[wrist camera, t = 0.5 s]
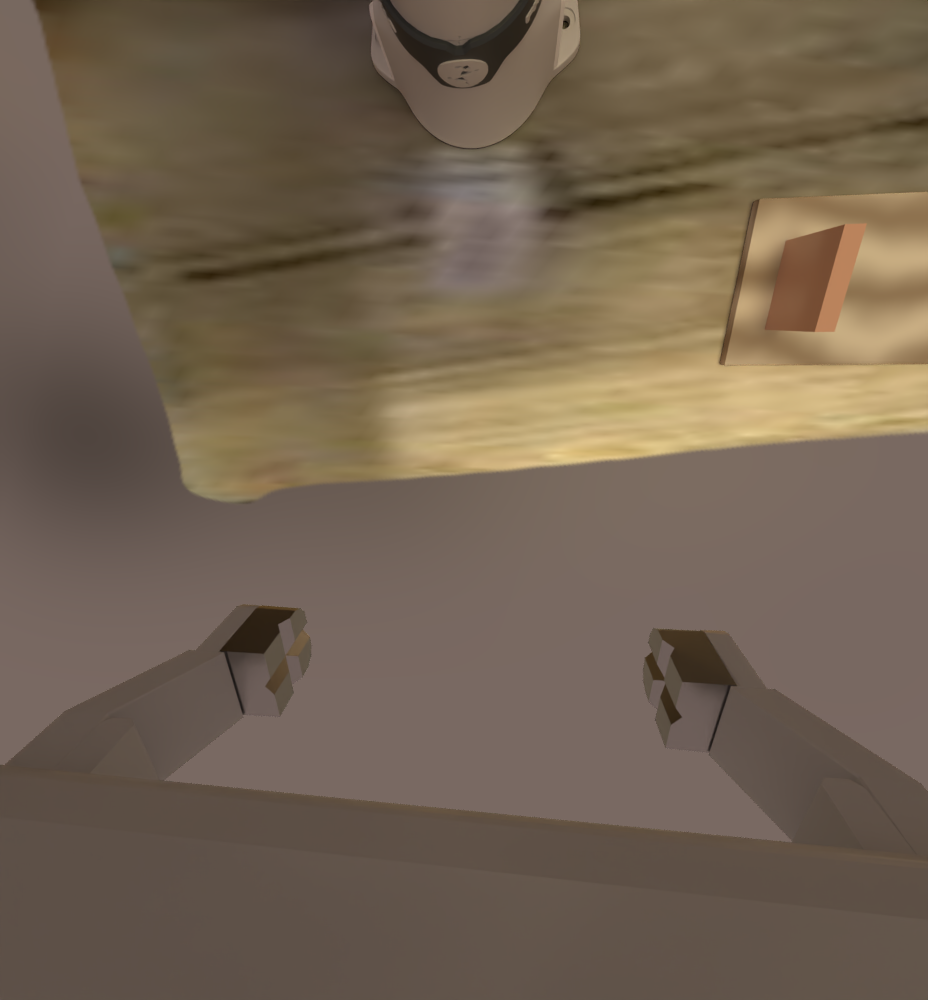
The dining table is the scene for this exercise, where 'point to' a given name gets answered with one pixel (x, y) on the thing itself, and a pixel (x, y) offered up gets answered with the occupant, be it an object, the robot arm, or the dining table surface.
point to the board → (871, 291)
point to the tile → (814, 279)
